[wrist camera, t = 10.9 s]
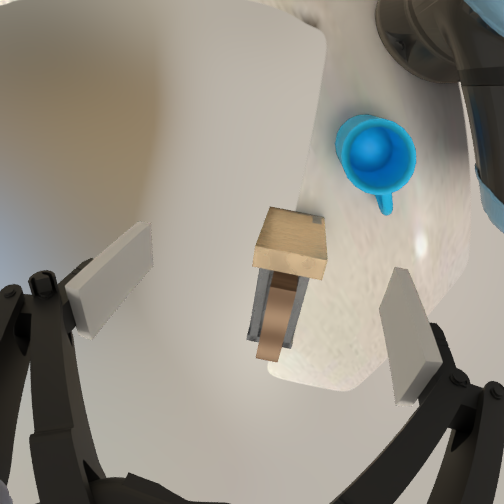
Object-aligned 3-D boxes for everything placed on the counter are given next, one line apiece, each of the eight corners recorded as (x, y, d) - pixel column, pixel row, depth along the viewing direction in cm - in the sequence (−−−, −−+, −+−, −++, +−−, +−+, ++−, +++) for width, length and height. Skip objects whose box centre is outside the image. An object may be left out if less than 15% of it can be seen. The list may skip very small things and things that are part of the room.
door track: (269, 206, 43) (255, 245, 32) (324, 217, 42) (327, 260, 31) (249, 328, 53) (234, 382, 43) (292, 337, 52) (285, 392, 42)
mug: (327, 122, 36) (331, 128, 29) (388, 108, 34) (406, 111, 27) (351, 209, 41) (359, 235, 34) (407, 196, 38) (426, 219, 31)
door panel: (279, 247, 44) (270, 286, 36) (300, 251, 44) (296, 291, 35) (266, 313, 50) (255, 358, 42) (284, 316, 50) (277, 362, 41)
